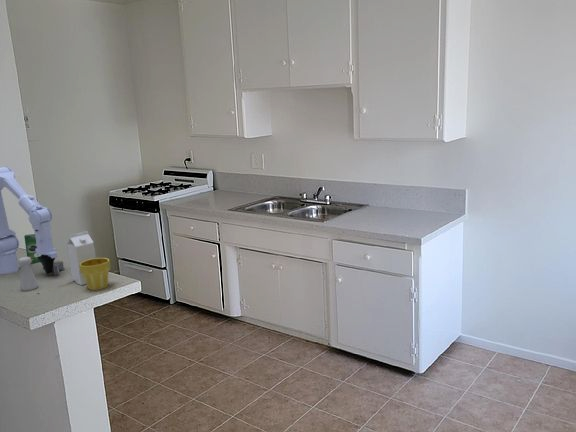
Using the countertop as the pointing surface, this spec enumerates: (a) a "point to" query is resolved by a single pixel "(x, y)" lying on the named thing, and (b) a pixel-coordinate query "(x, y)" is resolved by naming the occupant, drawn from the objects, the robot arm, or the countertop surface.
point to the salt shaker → (27, 275)
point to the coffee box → (31, 248)
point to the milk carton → (79, 254)
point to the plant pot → (95, 272)
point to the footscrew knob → (57, 267)
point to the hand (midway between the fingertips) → (49, 273)
